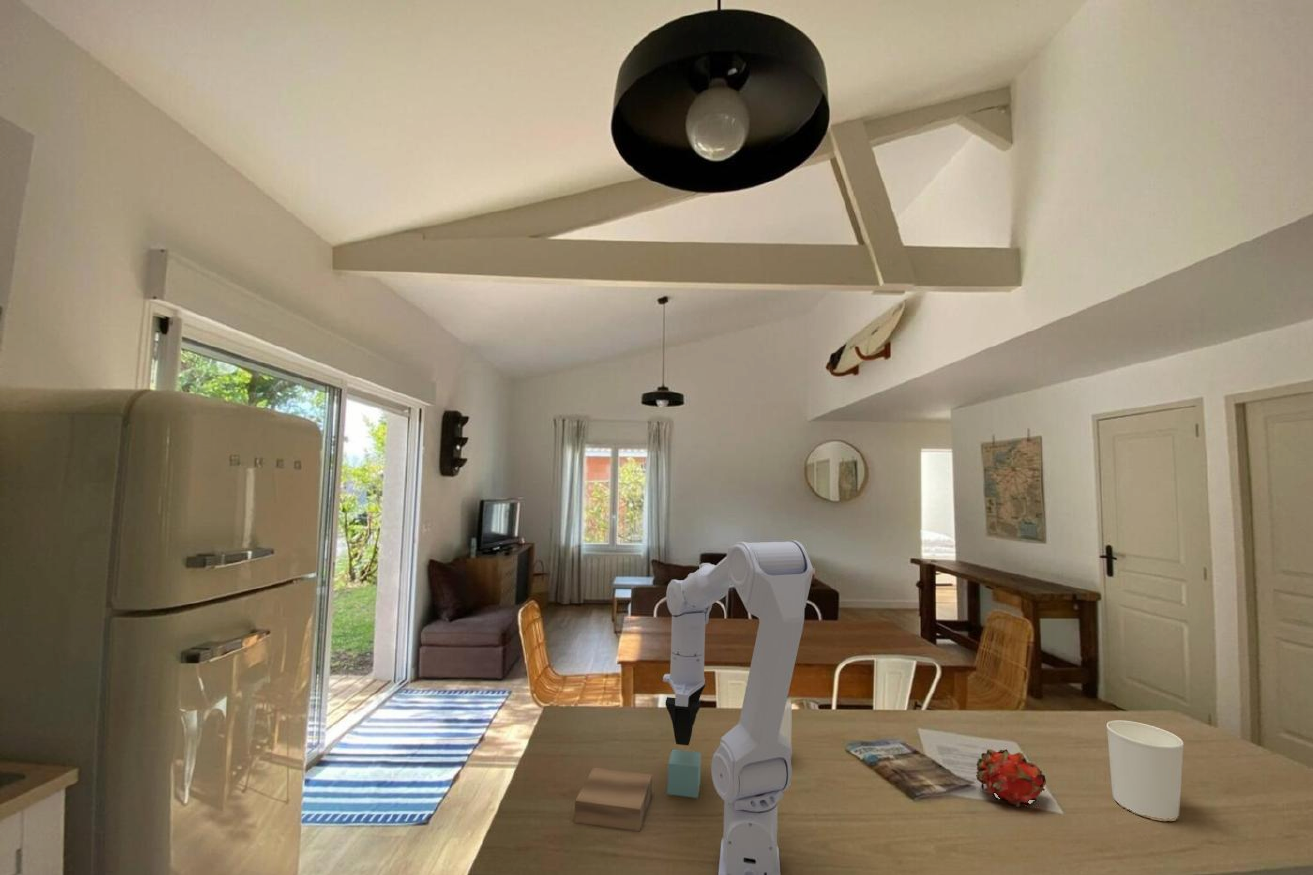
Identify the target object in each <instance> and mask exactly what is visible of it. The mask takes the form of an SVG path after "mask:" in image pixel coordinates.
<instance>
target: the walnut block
mask: <svg viewBox="0 0 1313 875" xmlns="http://www.w3.org/2000/svg"><path fill="white" fill-rule="evenodd" d="M652 793H653V774H652V773H651V774H650V773H642V772H641V773H640V772H635V771H634V772H633V771H625V770H618V769H609V768H602V767H593V768H592V769H591V770H590V773H589V775H588V777H587V778H586V780H585V782H584V784H583V786H582V788H581V789H580V791H579V793H578V794H577V797H576V799H575V800H574V820H573V821H574V823H576V824H577V823H578V824H585V825H593V826H599V827H608V828H613V829H614V828H615V829H621V830H628V831H637V832H640V831H641V828H642V825H643V822H644V818H645V816H646V813H647V811H648V810H647V809H648V806H649V803H650V800H651V797H652Z"/></svg>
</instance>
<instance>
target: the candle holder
mask: <svg viewBox="0 0 1313 875" xmlns="http://www.w3.org/2000/svg"><path fill="white" fill-rule="evenodd" d="M1106 732H1107V744H1108V756H1109V757H1108V758H1109V759H1108V760H1109V769H1110V780H1111V782H1110V783H1111V791H1112V798H1114V799H1115V800H1116V801H1117V802H1118V803H1119V804H1121V805H1122V806H1124V807H1126V808H1127V809H1130V810H1132V811H1133V812H1136V813H1138V814H1141V815H1147V816H1151V817H1157V818H1163V819H1167V818H1169V819H1172V818H1175V817H1178V816H1179V817H1180V809H1181V808H1180V806H1181V791H1182V775H1183V774H1182V772H1183V756H1184V755H1183V754H1184V746H1185V744H1184V741H1183V740H1182V739H1181V737H1179V736H1177V735H1176V734H1174V733H1173V732H1170V731H1167V730H1166V729H1162V728H1160V727H1158V726H1154V725H1151V724H1146V723H1142V722H1136V721H1130V720H1120V719H1119V720H1110V721H1108V722H1107V723H1106ZM1114 799H1113V800H1114ZM1179 817H1178V818H1179Z"/></svg>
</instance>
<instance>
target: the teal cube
mask: <svg viewBox="0 0 1313 875" xmlns="http://www.w3.org/2000/svg"><path fill="white" fill-rule="evenodd" d="M701 771H702V752H700V751H691V750H685V749H684V750H682V749H675V748H674V749H671V753H670V756H669V760H668V763H667V782H666V783H667V784H666V785H667V789H666V792H667V795H669V796H670V795H671V796H678V797H679V796H680V797H686V798H693V799H698V797H699V792H700V787H699V786H701Z"/></svg>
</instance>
